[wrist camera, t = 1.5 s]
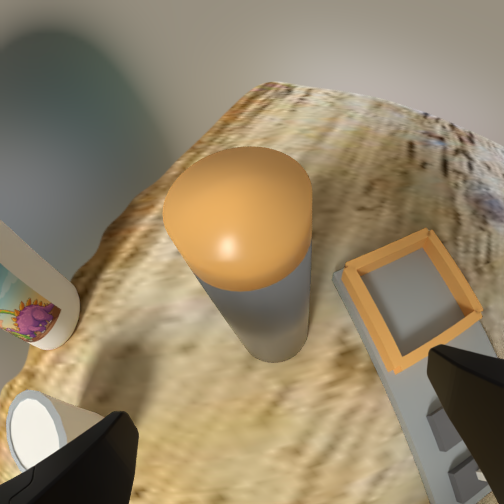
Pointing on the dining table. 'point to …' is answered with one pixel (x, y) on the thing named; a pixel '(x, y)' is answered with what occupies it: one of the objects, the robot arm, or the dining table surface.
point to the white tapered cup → (43, 426)
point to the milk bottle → (34, 295)
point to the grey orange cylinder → (249, 243)
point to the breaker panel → (418, 349)
